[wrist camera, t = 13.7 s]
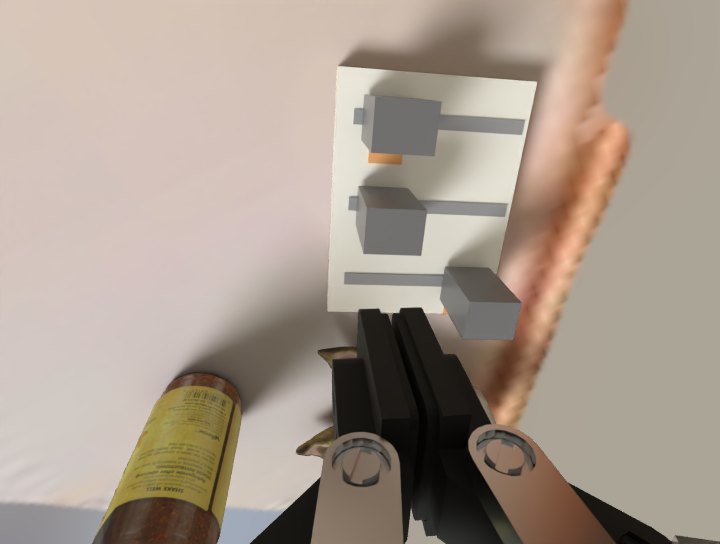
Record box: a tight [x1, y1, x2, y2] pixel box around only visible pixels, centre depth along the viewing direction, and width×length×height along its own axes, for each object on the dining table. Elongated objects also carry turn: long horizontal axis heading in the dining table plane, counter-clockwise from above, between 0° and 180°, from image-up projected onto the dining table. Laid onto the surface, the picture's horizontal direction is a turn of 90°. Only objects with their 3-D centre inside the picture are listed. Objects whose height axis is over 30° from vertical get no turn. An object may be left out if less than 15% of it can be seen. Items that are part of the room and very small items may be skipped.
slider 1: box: [361, 94, 442, 156], centre depth 22 cm, size 2×3×5 cm
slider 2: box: [356, 186, 427, 256], centre depth 24 cm, size 2×3×5 cm
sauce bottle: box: [92, 373, 242, 544], centre depth 24 cm, size 6×6×20 cm
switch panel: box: [327, 66, 537, 314], centre depth 27 cm, size 15×11×2 cm
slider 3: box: [440, 267, 522, 340], centre depth 26 cm, size 2×3×5 cm
